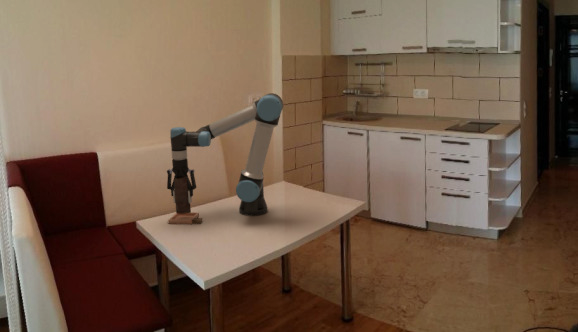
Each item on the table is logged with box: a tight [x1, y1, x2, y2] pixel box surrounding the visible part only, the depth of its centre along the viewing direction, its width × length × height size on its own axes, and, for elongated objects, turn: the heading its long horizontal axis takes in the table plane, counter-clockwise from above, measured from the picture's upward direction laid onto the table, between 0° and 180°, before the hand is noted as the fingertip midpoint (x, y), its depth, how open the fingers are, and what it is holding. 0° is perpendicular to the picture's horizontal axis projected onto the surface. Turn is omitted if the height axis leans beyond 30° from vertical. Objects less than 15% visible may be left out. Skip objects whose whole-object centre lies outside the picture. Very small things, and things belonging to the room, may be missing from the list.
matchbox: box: [191, 217, 203, 225], centre depth 261 cm, size 5×3×2 cm, turn 82°
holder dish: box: [167, 212, 200, 225], centre depth 266 cm, size 12×13×2 cm
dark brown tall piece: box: [173, 174, 192, 214], centre depth 263 cm, size 8×7×20 cm
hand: (182, 202), depth 264 cm, fingers closed on dark brown tall piece, 7 cm apart
